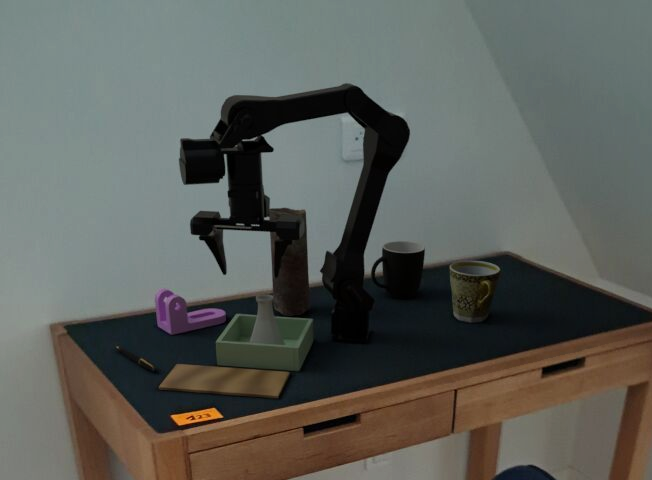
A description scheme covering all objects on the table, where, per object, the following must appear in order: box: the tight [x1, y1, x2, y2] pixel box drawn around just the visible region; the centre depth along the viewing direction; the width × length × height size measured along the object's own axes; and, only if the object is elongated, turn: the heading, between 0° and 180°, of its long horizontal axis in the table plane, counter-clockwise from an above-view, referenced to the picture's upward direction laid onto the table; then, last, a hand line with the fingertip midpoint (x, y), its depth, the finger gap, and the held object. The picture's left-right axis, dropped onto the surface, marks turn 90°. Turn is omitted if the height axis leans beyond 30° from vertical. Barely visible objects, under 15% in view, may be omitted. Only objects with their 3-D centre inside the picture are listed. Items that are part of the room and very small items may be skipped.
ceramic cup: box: [449, 260, 501, 324], centre depth 171 cm, size 13×10×10 cm
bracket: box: [154, 288, 227, 336], centre depth 166 cm, size 13×6×7 cm, turn 129°
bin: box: [215, 313, 314, 372], centre depth 155 cm, size 15×15×4 cm
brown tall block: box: [268, 207, 311, 317], centre depth 170 cm, size 8×7×20 cm
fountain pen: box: [115, 345, 157, 373], centre depth 151 cm, size 14×1×2 cm, turn 42°
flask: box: [249, 293, 285, 345], centre depth 154 cm, size 7×7×10 cm
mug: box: [370, 240, 426, 300], centre depth 183 cm, size 12×9×10 cm
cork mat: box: [158, 363, 291, 399], centre depth 145 cm, size 20×10×1 cm, turn 83°
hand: (250, 275), depth 151 cm, fingers open, 9 cm apart
